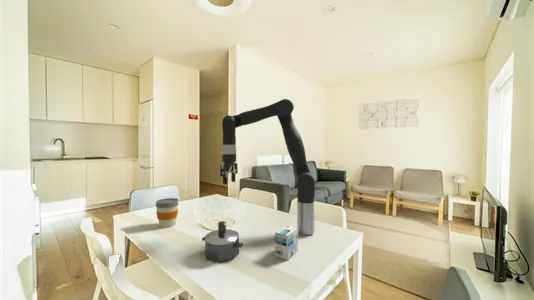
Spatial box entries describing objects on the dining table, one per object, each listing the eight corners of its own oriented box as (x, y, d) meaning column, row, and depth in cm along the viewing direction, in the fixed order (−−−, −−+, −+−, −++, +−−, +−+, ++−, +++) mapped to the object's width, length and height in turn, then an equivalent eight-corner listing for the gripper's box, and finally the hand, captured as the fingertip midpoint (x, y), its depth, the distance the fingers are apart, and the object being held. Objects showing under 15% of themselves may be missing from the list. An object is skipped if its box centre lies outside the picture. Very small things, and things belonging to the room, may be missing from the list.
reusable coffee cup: (169, 220, 144) (168, 197, 143) (183, 223, 138) (183, 199, 138) (151, 227, 132) (150, 201, 132) (166, 230, 127) (165, 204, 126)
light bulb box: (288, 260, 94) (288, 235, 94) (274, 256, 98) (274, 232, 98) (298, 250, 104) (298, 227, 103) (285, 246, 107) (285, 224, 107)
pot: (249, 250, 103) (249, 235, 103) (234, 266, 90) (233, 249, 90) (212, 243, 110) (212, 229, 110) (193, 257, 97) (193, 241, 97)
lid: (244, 236, 105) (244, 218, 105) (229, 251, 91) (229, 230, 91) (215, 232, 110) (215, 215, 109) (197, 246, 95) (197, 226, 95)
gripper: (228, 153, 112) (228, 185, 113) (241, 152, 126) (241, 181, 126) (215, 153, 115) (216, 184, 116) (230, 152, 128) (230, 180, 129)
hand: (229, 183), depth 121 cm, fingers open, 8 cm apart
